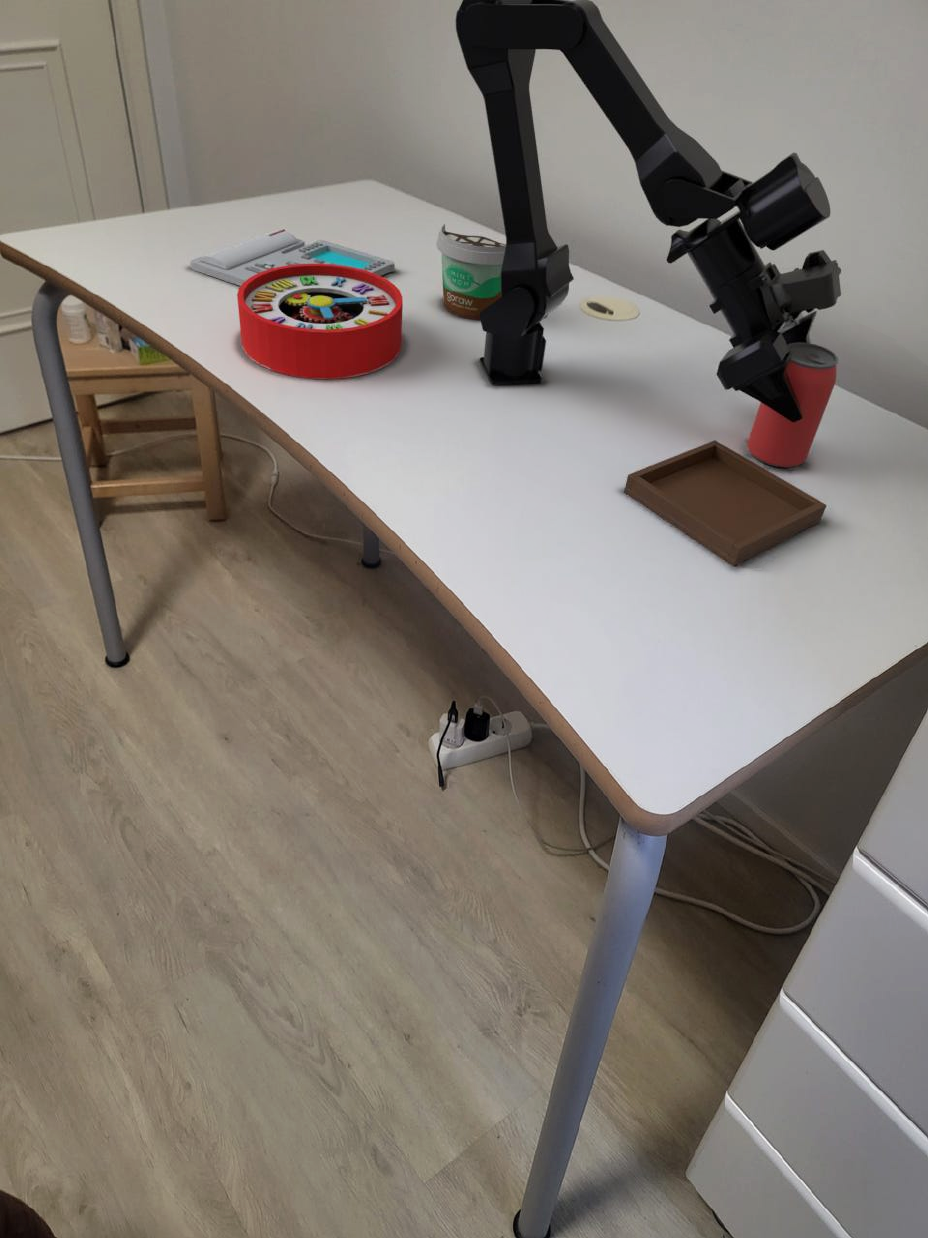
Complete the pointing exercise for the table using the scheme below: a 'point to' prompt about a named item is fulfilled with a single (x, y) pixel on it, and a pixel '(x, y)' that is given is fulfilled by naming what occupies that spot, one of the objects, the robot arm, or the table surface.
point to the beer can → (813, 388)
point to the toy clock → (320, 320)
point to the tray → (724, 501)
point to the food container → (470, 273)
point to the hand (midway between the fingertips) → (807, 403)
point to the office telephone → (283, 257)
